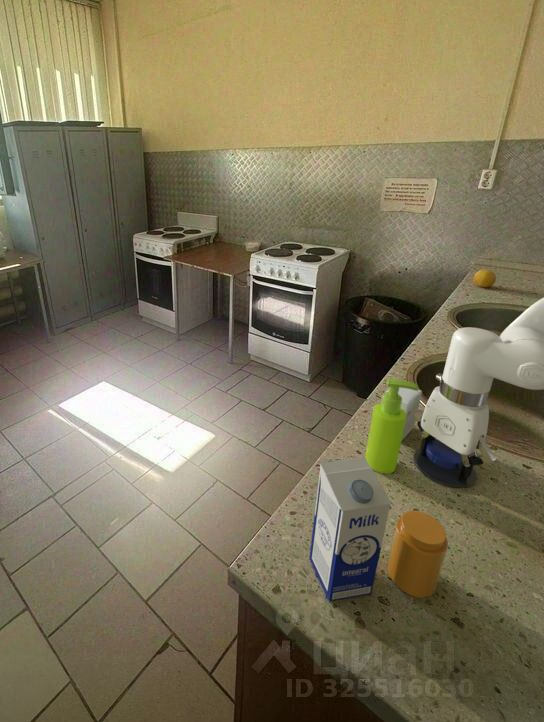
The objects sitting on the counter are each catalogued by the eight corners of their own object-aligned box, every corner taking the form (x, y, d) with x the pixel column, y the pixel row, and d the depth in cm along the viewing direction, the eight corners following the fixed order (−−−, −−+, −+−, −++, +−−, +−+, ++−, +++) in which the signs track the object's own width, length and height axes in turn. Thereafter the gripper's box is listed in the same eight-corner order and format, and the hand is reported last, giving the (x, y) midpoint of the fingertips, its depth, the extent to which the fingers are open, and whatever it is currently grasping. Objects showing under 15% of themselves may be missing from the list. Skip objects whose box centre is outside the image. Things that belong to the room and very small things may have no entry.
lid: (435, 469, 78) (436, 462, 77) (419, 444, 84) (421, 438, 84) (473, 471, 77) (475, 464, 76) (454, 446, 83) (456, 439, 83)
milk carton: (348, 551, 65) (365, 455, 58) (372, 593, 59) (394, 491, 52) (308, 558, 64) (319, 461, 57) (328, 601, 58) (343, 499, 51)
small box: (390, 417, 97) (397, 380, 93) (414, 428, 93) (423, 390, 89) (375, 431, 92) (381, 393, 89) (399, 443, 88) (408, 404, 85)
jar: (423, 557, 64) (436, 509, 60) (444, 600, 58) (459, 549, 54) (381, 553, 65) (391, 506, 61) (396, 595, 58) (408, 545, 55)
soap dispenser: (403, 477, 79) (421, 393, 72) (366, 470, 81) (380, 387, 74) (398, 457, 84) (415, 376, 77) (363, 450, 87) (377, 371, 79)
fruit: (475, 282, 190) (479, 266, 187) (495, 286, 184) (500, 270, 181) (469, 287, 185) (473, 270, 182) (489, 290, 179) (494, 274, 176)
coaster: (457, 450, 86) (458, 447, 86) (488, 490, 76) (489, 487, 76) (404, 447, 87) (405, 445, 87) (427, 486, 77) (428, 484, 77)
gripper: (408, 374, 81) (394, 443, 87) (500, 423, 66) (474, 502, 73) (433, 366, 84) (417, 434, 90) (527, 411, 69) (500, 489, 75)
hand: (443, 464), depth 81 cm, fingers closed on lid, 6 cm apart
